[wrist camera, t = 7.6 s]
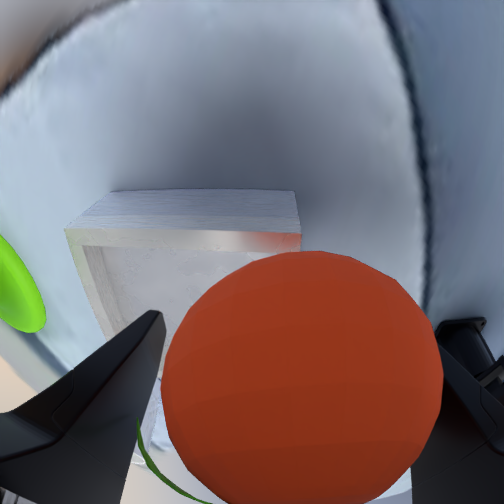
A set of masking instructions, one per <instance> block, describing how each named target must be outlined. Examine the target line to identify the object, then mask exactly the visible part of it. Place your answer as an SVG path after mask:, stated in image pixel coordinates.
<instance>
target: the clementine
mask: <svg viewBox="0 0 504 504" xmlns="http://www.w3.org/2000/svg"><path fill="white" fill-rule="evenodd" d="M442 388H443V368H442V363H441V358H440V353H439V350H438V346H437V342H436V339H435V335H434V332H433V329H432V325H431V322H430V321H429V319H428V318H427V317H426V315H425V314H424V313H423V311H422V310H421V309H420V307H419V306H418V305H417V304H416V302H415V301H414V300H413V298H412V297H411V296H410V295H409V294H408V293H407V292H406V291H405V290H404V288H403V287H402V286H401V285H400V284H399V283H398V282H397V281H396V280H395V279H393V278H391V277H389V276H387V275H385V274H383V273H382V272H380V271H378V270H376V269H374V268H372V267H370V266H368V265H366V264H364V263H362V262H360V261H358V260H356V259H354V258H352V257H349V256H344V255H338V254H333V253H328V252H323V251H303V252H284V253H281V254H277V255H273V256H270V257H266V258H262V259H259V260H255V261H252V262H250V263H249V264H247V265H245V266H243V267H241V268H240V269H238V270H236V271H234V272H232V273H230V274H229V275H227V276H225V277H224V278H223V279H221V280H220V281H219V282H217V283H216V284H214V285H213V286H212V287H210V288H209V289H208V290H207V291H206V292H205V293H204V294H203V295H202V296H201V297H200V298H199V299H198V300H197V301H196V302H195V303H194V304H193V305H192V306H191V308H190V309H189V310H188V311H187V313H186V315H185V317H184V318H183V320H182V322H181V323H180V325H179V327H178V329H177V330H176V332H175V334H174V336H173V339H172V341H171V344H170V346H169V349H168V351H167V354H166V356H165V362H164V368H163V374H162V380H161V386H160V391H161V398H162V404H163V410H164V415H165V421H166V426H167V430H168V435H169V438H170V440H171V442H172V444H173V446H174V447H175V449H176V451H177V453H178V454H179V456H180V458H181V460H182V461H183V463H184V465H185V466H186V468H187V470H188V471H189V472H190V473H191V474H192V475H194V476H195V477H196V478H197V479H198V480H199V481H200V482H201V483H202V484H203V485H205V486H206V487H207V488H208V489H209V490H210V491H212V492H213V493H214V494H215V495H216V496H218V497H219V498H220V499H222V500H223V501H225V502H226V503H228V504H364V503H366V502H369V501H371V500H373V499H375V498H377V497H379V496H380V495H381V494H383V493H384V492H385V491H386V490H388V489H389V488H390V487H391V486H392V485H393V484H394V483H395V482H396V481H397V480H398V479H399V478H400V477H401V476H402V475H403V474H404V473H405V472H406V471H407V469H408V468H409V467H410V466H411V465H412V464H413V463H414V462H415V461H416V459H417V458H418V457H419V455H420V454H421V452H422V450H423V448H424V446H425V444H426V442H427V440H428V438H429V436H430V433H431V431H432V429H433V427H434V424H435V422H436V420H437V417H438V415H439V412H440V407H441V399H442ZM137 441H138V447H139V449H140V452H141V454H142V456H143V458H144V460H145V462H146V464H147V466H148V468H149V469H150V470H151V471H152V472H153V473H154V474H155V475H157V476H158V477H159V478H160V479H161V480H162V481H163V482H164V483H166V484H167V485H168V486H170V487H171V488H172V489H174V490H175V491H177V492H178V493H180V494H182V495H184V496H186V497H188V498H191V499H193V500H196V501H198V502H201V503H204V504H212V503H208V502H204V501H202V500H199V499H196V498H195V497H193V496H191V495H190V494H188V493H187V492H185V491H183V490H182V489H180V488H179V487H178V486H176V485H175V484H174V483H172V482H171V481H170V480H169V479H168V478H166V477H165V476H164V475H163V474H161V473H160V471H159V470H158V468H157V467H156V465H155V464H154V462H153V461H152V459H151V458H150V456H149V455H148V453H147V452H146V450H145V447H144V443H143V439H142V435H141V430H140V425H139V420H138V417H137Z"/></svg>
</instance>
